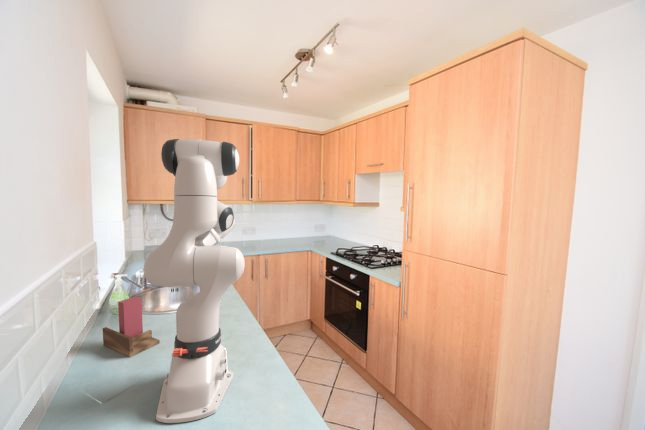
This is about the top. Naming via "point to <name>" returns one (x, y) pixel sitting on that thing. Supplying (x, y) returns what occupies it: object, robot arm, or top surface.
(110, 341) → the book rack
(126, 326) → the red rectangular block
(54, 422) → the top surface
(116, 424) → the top surface
